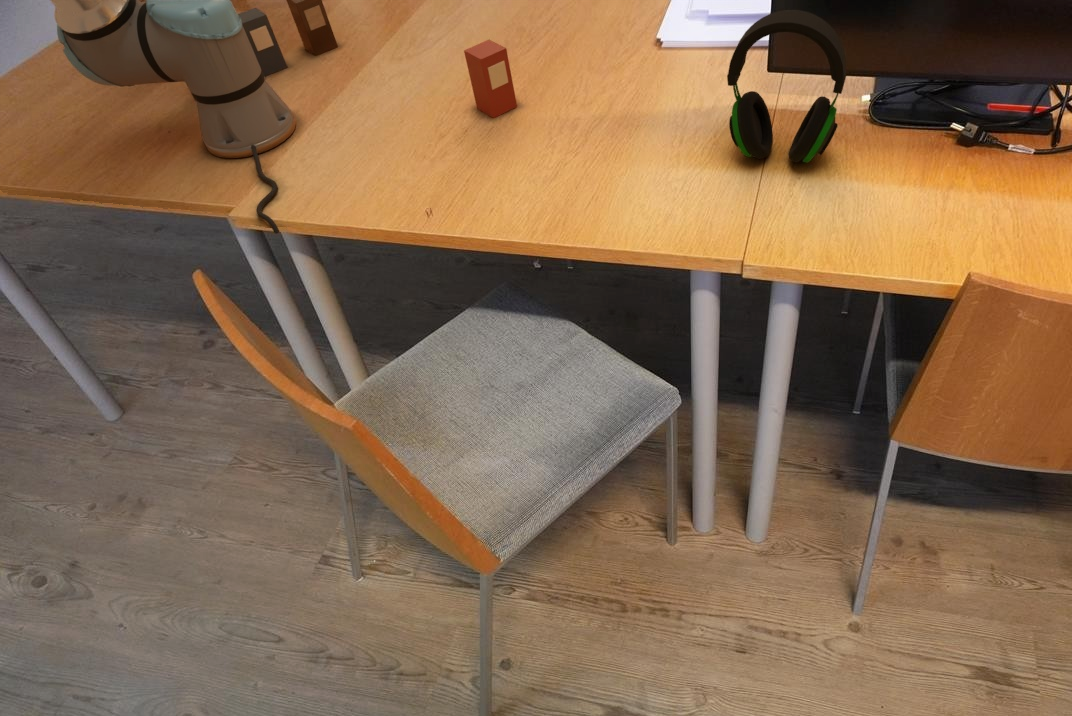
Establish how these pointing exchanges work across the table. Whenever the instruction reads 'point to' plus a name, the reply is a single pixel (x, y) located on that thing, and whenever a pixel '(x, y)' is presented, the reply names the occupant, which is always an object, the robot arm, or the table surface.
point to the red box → (491, 78)
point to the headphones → (751, 111)
